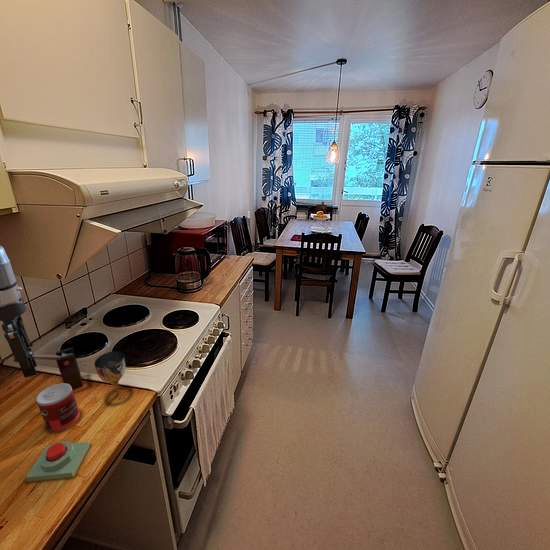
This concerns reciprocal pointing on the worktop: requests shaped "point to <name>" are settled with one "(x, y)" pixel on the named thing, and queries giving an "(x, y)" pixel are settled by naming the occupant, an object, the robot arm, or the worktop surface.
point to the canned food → (58, 406)
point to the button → (55, 452)
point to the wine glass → (111, 368)
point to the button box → (58, 463)
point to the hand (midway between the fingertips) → (31, 371)
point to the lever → (46, 356)
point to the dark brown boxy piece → (69, 368)
